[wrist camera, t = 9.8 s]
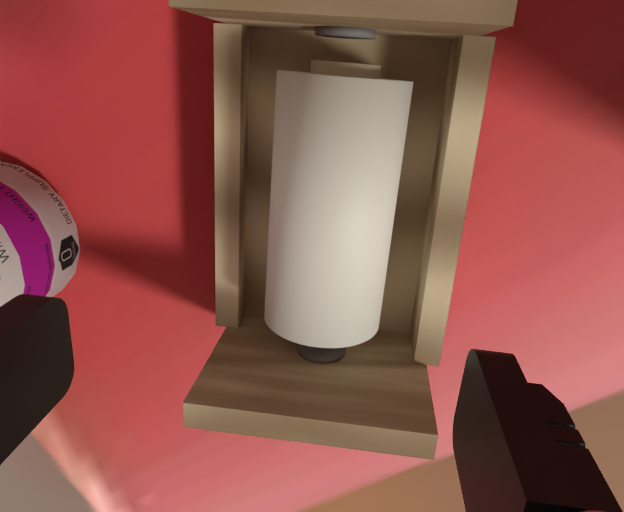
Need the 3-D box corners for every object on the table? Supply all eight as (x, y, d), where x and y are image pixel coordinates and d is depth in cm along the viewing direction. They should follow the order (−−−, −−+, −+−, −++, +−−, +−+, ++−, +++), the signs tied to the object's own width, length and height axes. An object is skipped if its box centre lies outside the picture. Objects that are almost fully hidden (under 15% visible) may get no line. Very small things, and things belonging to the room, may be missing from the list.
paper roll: (287, 58, 23) (265, 55, 18) (409, 68, 23) (422, 68, 18) (274, 296, 27) (253, 349, 22) (376, 308, 27) (378, 365, 22)
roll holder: (229, -1, 23) (148, -40, 15) (481, 12, 22) (544, -21, 14) (228, 323, 29) (169, 425, 21) (427, 345, 28) (448, 462, 20)
